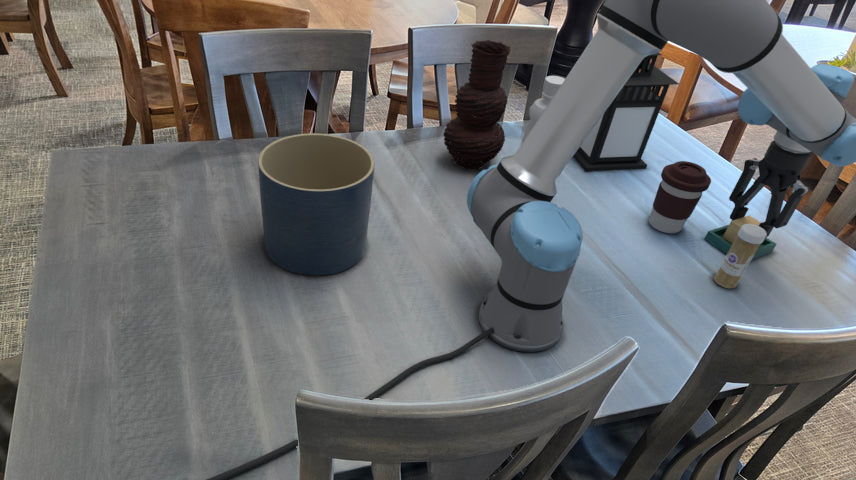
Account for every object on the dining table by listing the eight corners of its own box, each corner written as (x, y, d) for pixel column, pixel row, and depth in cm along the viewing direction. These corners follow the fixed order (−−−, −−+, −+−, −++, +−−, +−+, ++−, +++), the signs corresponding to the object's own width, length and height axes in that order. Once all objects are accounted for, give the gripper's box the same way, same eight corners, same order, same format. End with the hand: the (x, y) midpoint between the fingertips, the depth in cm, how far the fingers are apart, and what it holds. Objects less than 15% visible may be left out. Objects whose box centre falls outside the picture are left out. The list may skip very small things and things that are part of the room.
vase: (430, 151, 168) (446, 37, 148) (482, 145, 172) (505, 33, 152) (454, 180, 156) (475, 61, 137) (509, 173, 160) (537, 57, 141)
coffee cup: (691, 240, 142) (719, 183, 132) (645, 233, 143) (670, 176, 133) (682, 216, 149) (708, 160, 140) (639, 210, 150) (662, 154, 141)
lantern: (585, 171, 163) (630, 34, 141) (557, 140, 176) (595, 10, 154) (645, 168, 166) (699, 34, 144) (614, 138, 179) (658, 10, 157)
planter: (378, 226, 139) (386, 144, 127) (351, 288, 123) (356, 200, 110) (284, 207, 143) (282, 125, 130) (245, 264, 127) (239, 177, 114)
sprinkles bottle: (709, 280, 131) (737, 227, 122) (719, 272, 133) (748, 220, 125) (730, 292, 128) (761, 239, 120) (740, 284, 130) (771, 231, 122)
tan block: (741, 250, 138) (750, 233, 135) (722, 237, 141) (731, 220, 138) (759, 243, 140) (769, 227, 137) (740, 231, 143) (749, 215, 140)
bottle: (509, 211, 147) (540, 88, 128) (501, 190, 154) (529, 70, 135) (547, 212, 148) (584, 89, 128) (538, 191, 154) (571, 72, 135)
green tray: (740, 263, 136) (744, 255, 135) (704, 239, 142) (708, 230, 141) (772, 252, 140) (777, 244, 138) (735, 229, 146) (739, 220, 145)
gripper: (848, 163, 121) (788, 259, 135) (765, 123, 133) (719, 215, 148) (823, 170, 118) (765, 267, 133) (741, 129, 130) (696, 222, 145)
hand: (741, 239), depth 140 cm, fingers closed on tan block, 5 cm apart
